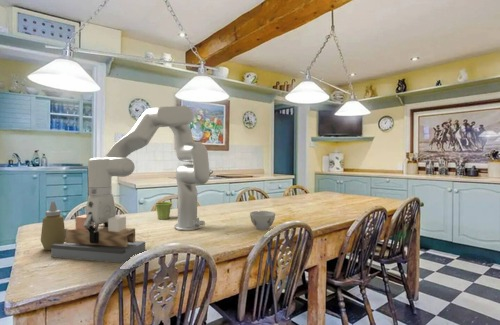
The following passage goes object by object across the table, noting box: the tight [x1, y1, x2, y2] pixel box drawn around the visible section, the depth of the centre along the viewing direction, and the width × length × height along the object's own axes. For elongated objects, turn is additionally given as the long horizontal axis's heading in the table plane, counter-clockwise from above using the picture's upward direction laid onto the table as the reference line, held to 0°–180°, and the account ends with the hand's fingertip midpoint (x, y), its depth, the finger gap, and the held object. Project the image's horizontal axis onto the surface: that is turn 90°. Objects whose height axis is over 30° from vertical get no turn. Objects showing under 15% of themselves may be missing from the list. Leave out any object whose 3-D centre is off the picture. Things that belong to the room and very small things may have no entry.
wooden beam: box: [65, 225, 136, 247], centre depth 105 cm, size 24×6×5 cm, turn 80°
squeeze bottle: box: [40, 201, 66, 251], centre depth 110 cm, size 8×8×18 cm
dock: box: [50, 240, 146, 264], centre depth 105 cm, size 28×14×4 cm, turn 80°
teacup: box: [249, 210, 276, 231], centre depth 143 cm, size 15×12×8 cm
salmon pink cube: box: [75, 214, 95, 230], centre depth 107 cm, size 4×4×4 cm
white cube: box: [108, 215, 127, 232], centre depth 104 cm, size 4×4×4 cm
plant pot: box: [154, 201, 173, 220], centre depth 162 cm, size 9×9×9 cm
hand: (100, 239), depth 106 cm, fingers closed on wooden beam, 6 cm apart
